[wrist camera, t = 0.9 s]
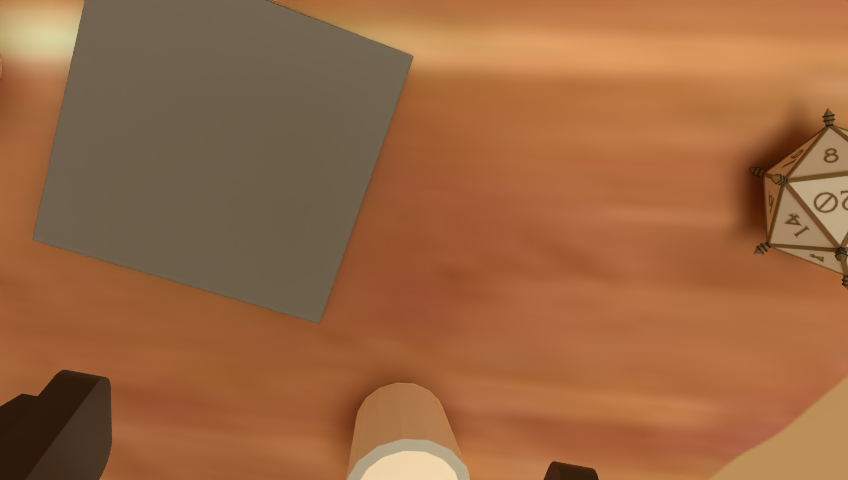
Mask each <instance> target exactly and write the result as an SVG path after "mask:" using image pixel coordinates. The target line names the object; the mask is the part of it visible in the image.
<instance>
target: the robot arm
mask: <svg viewBox="0 0 848 480" xmlns="http://www.w3.org/2000/svg"><path fill="white" fill-rule="evenodd" d="M111 443H112V426H111V386H110V381H109V379H108V378H106V377H101V376H96V375H91V374H85V373H80V372H74V371H69V370H62V371H60V372H59V373H57V374H56V375H55V376H54V378H53V379H52V380H51V381H50V382H49V384H48V385H47V386H46V387H45V388H44V390H43V391H42V392H41V393H40V394H39V396H32V395H27V394H21V395H19V396H17V397H16V398H14V399H12V400H11V401H9V402H7V403H5V404H4V405H2V406H0V480H99V479H100V477H101V475H102V473H103V471H104V469H105V466H106V464H107V461H108V458H109V454H110V450H111ZM544 480H599V479H598V476H597V473H596V471H595V470H594V469H593V468H588V467H582V466H577V465H571V464H566V463H560V462H555V461H553V462H552V463H551V464H550V466H549V468H548V470H547V473H546V475H545V478H544Z"/></svg>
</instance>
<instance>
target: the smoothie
mask: <svg viewBox="0 0 848 480" xmlns="http://www.w3.org/2000/svg"><path fill="white" fill-rule="evenodd" d="M1 76H2V60H1V56H0V79H1Z"/></svg>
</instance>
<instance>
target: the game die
mask: <svg viewBox="0 0 848 480" xmlns="http://www.w3.org/2000/svg"><path fill="white" fill-rule="evenodd" d="M834 115H835V114H833V113H832V112H831V111H830V110H829V109H828V108H827V110H826V112H825V114H824V116H822V117H823V118H824V121H823V122H825V124H826V127H825V128H823V129H822V130H821V131H819V132H818V133H817V134H815V135H814V136H813V137H811V138H810V139H809V140H807V141H806V142H805V143H803V144H802V145H801V146H799V147H798V148H797V149H795V150H794V151H793V152H791V153H790V154H789V155H787V156H786V157H785V158H783V159H782V160H781V161H779V162H778V163H777V164H775V165H774V166H773V167H771V168H770V169H769V170H767V171H764V170H763V168H761V169H760V168H759V167H756V168H751V169H750V170H751V172H752V173H753V175H754V176H755V175H756V176H758V177H763V183H764V202H765V221H766V240H767V242H766V243H764V244H761V245H759V246H757V248H756V250H755V252H754V254H764V252H767V250H768V249H769V248H770V247H772V248H774V249H777V250H779V251H782V252H785V253H787V254H790V255H792V256H795V257H798V258H800V259H803V260H805V261H808V262H811V263H813V264H816V265H818V266H821V267H823V268H826V269H829V270H831V271H834V272H836V273H839V274H842V275H843V276H844V277H843V279H842V281H843V283H842V285H844V286H845V287H846V288H847V290H848V130H846V129H843V128H840V127H837V126H834V125H833V122H834V120H835V119H834Z"/></svg>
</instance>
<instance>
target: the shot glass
mask: <svg viewBox="0 0 848 480" xmlns="http://www.w3.org/2000/svg"><path fill="white" fill-rule="evenodd" d="M346 480H470V477H469V474H468V471H467V468H466V465H465V462H464V460H463V457H462V455H461V452H460V450H459V447H458V445H457V442H456V440H455V437H454V435H453V432H452V430H451V427H450V425H449V422H448V420H447V417H446V415H445V412H444V410H443V407H442V405H441V402H440V401H439V400H438V399H437V398H436V397H435V396H434V394H433V393H432V392H431V391H430V390H428V389H426V388H423V387H421V386H419V385H417V384H415V383H399V382H396V383H393V384H389V385H386V386H383V387H379V388H378V389H377V390H375V391H374V392H373V393H371V394H370V395H369V396H367V397H366V398H365V400H364V402H363V403H362V405H361V407H360V408H359V410H358V412H357V417H356V423H355V429H354V435H353V441H352V447H351V453H350V459H349V465H348V471H347V477H346Z"/></svg>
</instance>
